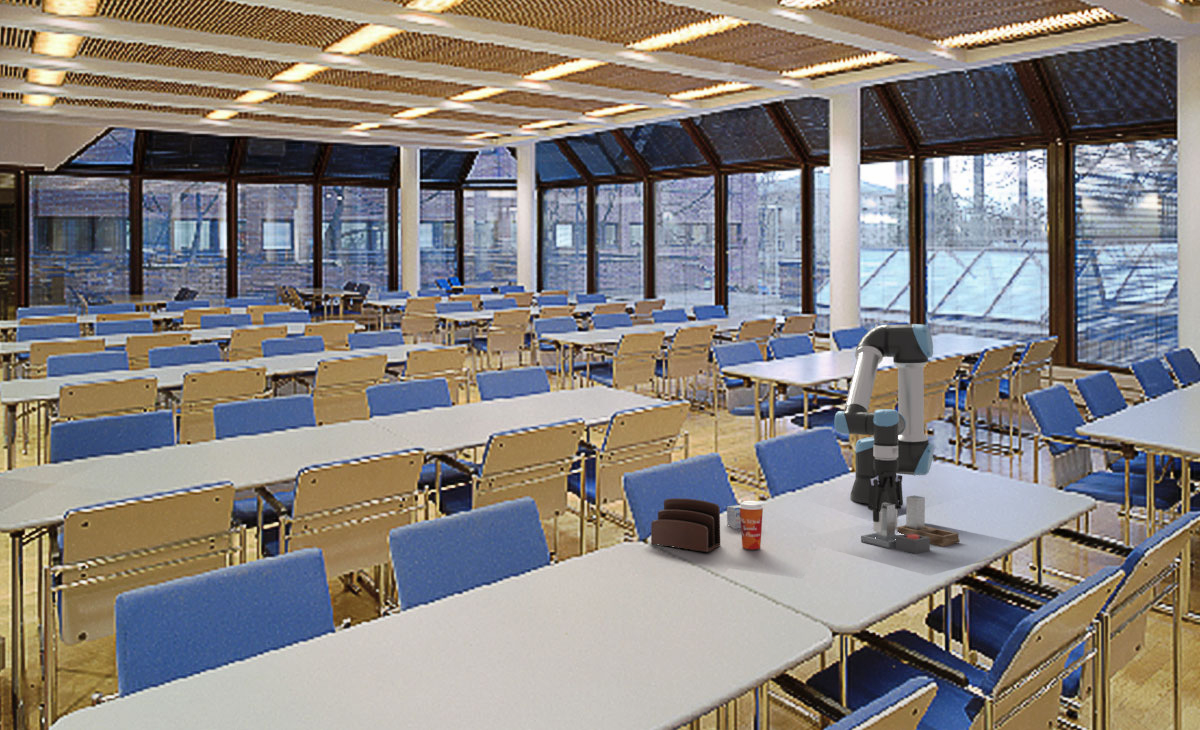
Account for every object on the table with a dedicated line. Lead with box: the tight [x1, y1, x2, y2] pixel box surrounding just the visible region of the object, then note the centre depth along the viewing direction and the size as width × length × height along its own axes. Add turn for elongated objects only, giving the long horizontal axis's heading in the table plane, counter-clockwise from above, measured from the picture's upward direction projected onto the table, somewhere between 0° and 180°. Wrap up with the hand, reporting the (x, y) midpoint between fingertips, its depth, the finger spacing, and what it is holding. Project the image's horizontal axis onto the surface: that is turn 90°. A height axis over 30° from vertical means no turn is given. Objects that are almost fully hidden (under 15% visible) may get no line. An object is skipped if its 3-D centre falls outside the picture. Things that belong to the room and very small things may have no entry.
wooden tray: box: [896, 524, 961, 548], centre depth 277 cm, size 17×9×3 cm, turn 34°
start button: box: [907, 534, 919, 539], centre depth 264 cm, size 4×4×2 cm
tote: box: [860, 532, 899, 549], centre depth 273 cm, size 11×11×2 cm
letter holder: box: [650, 497, 721, 553], centre depth 272 cm, size 10×20×14 cm, turn 59°
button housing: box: [895, 533, 931, 555], centre depth 264 cm, size 7×7×4 cm
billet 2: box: [905, 495, 926, 530], centre depth 281 cm, size 4×4×12 cm
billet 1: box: [875, 502, 896, 542], centre depth 273 cm, size 4×4×12 cm
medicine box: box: [726, 504, 741, 529], centre depth 290 cm, size 8×4×9 cm, turn 118°
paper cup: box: [738, 500, 765, 550], centre depth 269 cm, size 8×8×14 cm
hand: (885, 530), depth 273 cm, fingers open, 7 cm apart
